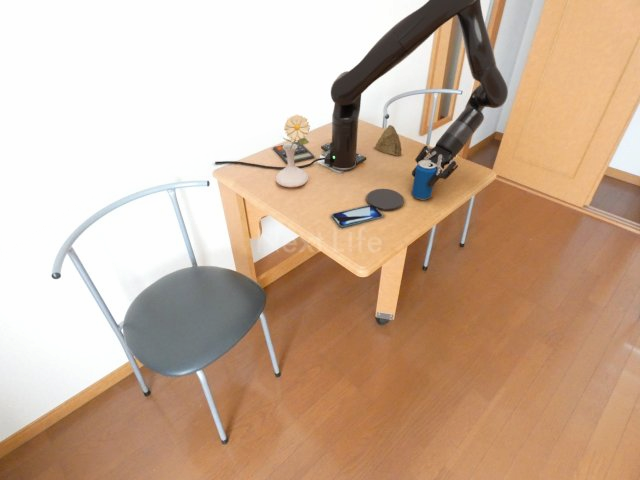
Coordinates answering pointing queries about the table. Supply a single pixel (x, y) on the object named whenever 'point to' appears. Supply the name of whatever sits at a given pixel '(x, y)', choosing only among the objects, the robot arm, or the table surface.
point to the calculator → (299, 154)
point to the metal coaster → (385, 199)
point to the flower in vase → (297, 131)
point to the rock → (389, 142)
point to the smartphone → (356, 216)
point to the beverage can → (423, 179)
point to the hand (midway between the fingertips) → (420, 180)
